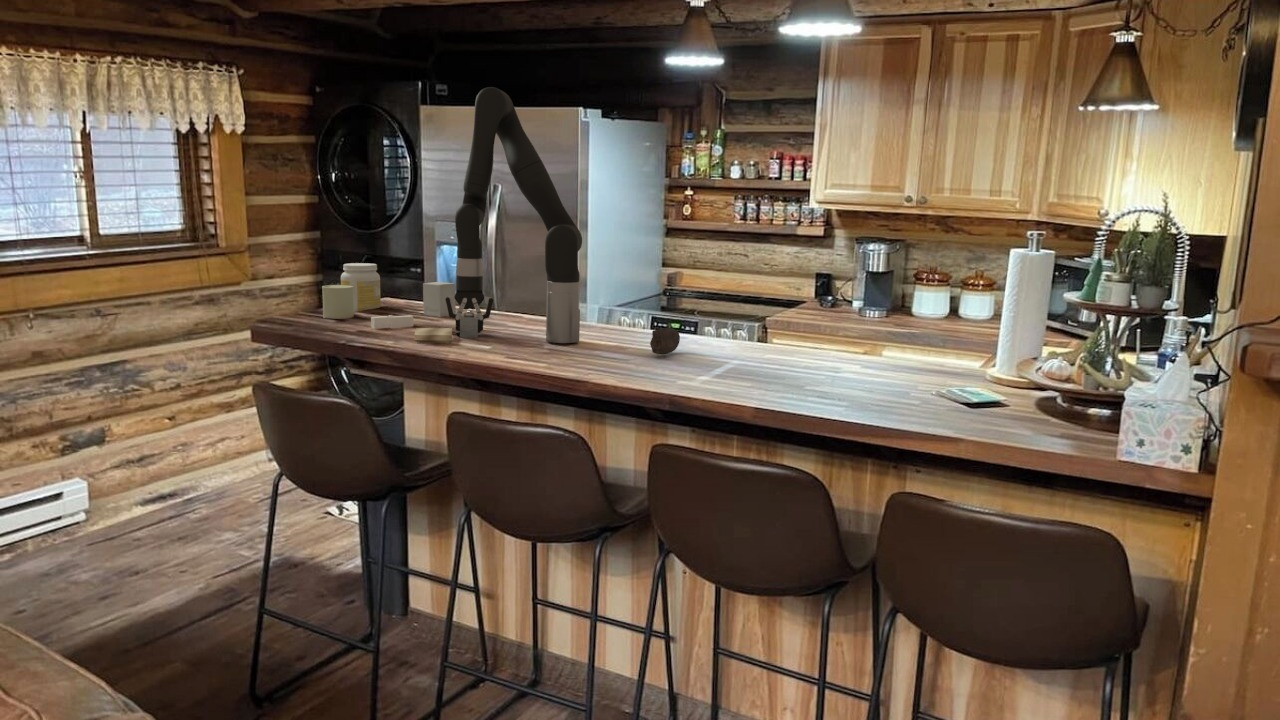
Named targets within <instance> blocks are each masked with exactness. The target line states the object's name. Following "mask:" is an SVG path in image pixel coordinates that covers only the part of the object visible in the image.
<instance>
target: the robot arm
mask: <svg viewBox="0 0 1280 720" xmlns="http://www.w3.org/2000/svg"><path fill="white" fill-rule="evenodd" d="M473 118H474V120H473V121H474V123H473V133H472V142H471V148H470V152H469V153H470V154H469V159H468V162H467V168H466V172H465V177H464V181H463V192H464V195H463V199H462V204H461V205H460V206H459V207H457V210H456V212H455V214H454V215H455V216H454V217H455V218H454V219H455V220H454V221H455V222H454V223H455V232H456V239H457V240H456V241H457V246H456V267H455V268H456V269H455V274H456V275H455V278H456V281H455V282H456V283H455V293H456V294H455V296H451V297H446V304H447V309H448V313H449V316H448V317H449V318H450V319H454V320H455V331H458V333H457V334H460V316H461V314H462V313H464V312H463V311H464V310H471V311H473V310H475V312H476V313H477V315H478V317H479V320H478V333H479V334H481V332H483V331H484V321H485V320H486V319H489V318H490V316H491V313H492V308H493V303H494V298H493V297H492V296H490V297H489V296H485V295H484V292H483V291H484V290H483V288H484V286H483V285H484V284H483V283H484V268H483V267H484V265H483V243H482V240H481V238H480V237H481V236H480V234H481V233H480V232H481V231H480V230H481V224H482V223H483V222H484V220H485V219H484V218H485V214H486V209H487V199H488V192H489V187H490V184H491V179H492V175H493V168H494V150H495V149H494V148H495V140H496V135H497V137H498V139H499V141H500V143H501V145H502V147H503V151H504V154H505V160H506V162H507V165H508V168H509V171H510V173H511V176H512V178H513V179H514V182H516V185H517V187H518V188H519V190H520V192H521V194H522V195H523V196H524V197H525V199H526V200H527V202H528V203H529V204H530V205H531V206H532V207H533V208H534V210H535V211H536V212H537V214H538V215H539V217H540V218H541V220H542V223H543V225H544V226H545V228H546V231H547V234H546V235H545V240H544V241H545V242H544V243H545V244H544V245H545V247H544V249H545V250H544V260H545V262H544V267H545V273H546V309H545V310H546V311H545V312H546V314H545V315H546V317H545V320H546V324H545V340H546V341H547V342H548V343H555V344H556V343H557V344H572V343H580V329H581V328H580V322H581V309H580V277H581V276H580V271H579V265H578V262H579V261H578V257H579V256H578V253H579V251H580V249H582V245H583V237H582V233H581V231H580V230H579V228H578V227H577V225H576V223H575V222H574V221H573V219H572V218H571V216H570V214H569V213H568V211H567V210H566V208H565V207H564V204H563V203H562V201H561V199H560V196H559V194H558V191H557V188H556V187H555V185H554V182H553V180H552V179H551V176H550V174H549V171H548V170H547V168H546V166H545V164H544V162H543V161H542V159H541V157H540V156H539V153H538V152H537V150H536V148H535V147H534V144H533V143H532V142H531V140H530V138H529V137H528V135H527V134H526V132H525V130H524V128H523V126H522V124H521V120H520V118H519V116H518V114H517V110H516V107H515V106H514V104H513V100H512V98H510V95H508V94H507V92H505V91H503V90H501V89H499V88H498V87H494V86H489V87H485V88H482V89H481V90H480V91H479V92H478V94H476V97H475V103H474V117H473ZM454 299H455V300H456V302H457V304H458V305H459V306H458V309H457V311H456V314H454V313H453V310H452V306H451V304H453V300H454ZM484 301H485V305H486V310H485V313H484V314H483V313H482V309H481V308H480V305H481V304H482V303H483V302H484Z"/></svg>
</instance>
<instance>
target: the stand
mask: <svg viewBox="0 0 1280 720" xmlns="http://www.w3.org/2000/svg"><path fill="white" fill-rule="evenodd" d="M413 338H414V341H420V342H418V344H437V345H438V344H440V345H441V344H444V345H445V344H451V341H453V328H452V327H416V328H415V332H414V337H413Z"/></svg>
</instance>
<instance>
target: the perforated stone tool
mask: <svg viewBox="0 0 1280 720" xmlns="http://www.w3.org/2000/svg"><path fill="white" fill-rule="evenodd" d="M651 332H652V334H651V339H650V341H649V342H650V343H649V344H650V348H651V351H652V353H653V354H656V355H667V354H670V353H672V352H674V351H676V350H677V349H678V347H679V345H680V340H681V336H680V333H679V331H678V330H677V329H674V328H671V327H665V328H660V329H654V330H652V331H651Z"/></svg>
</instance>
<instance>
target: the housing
mask: <svg viewBox="0 0 1280 720" xmlns="http://www.w3.org/2000/svg"><path fill="white" fill-rule="evenodd" d="M478 320H479V317H478V315H477V312H476V313H475V312H474V311H473V310H472V309H467V311H466V312H462V314H461V316H460V331H459V332H460V333H459V338H460V339H478V338H479V334H480V333H478Z"/></svg>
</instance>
